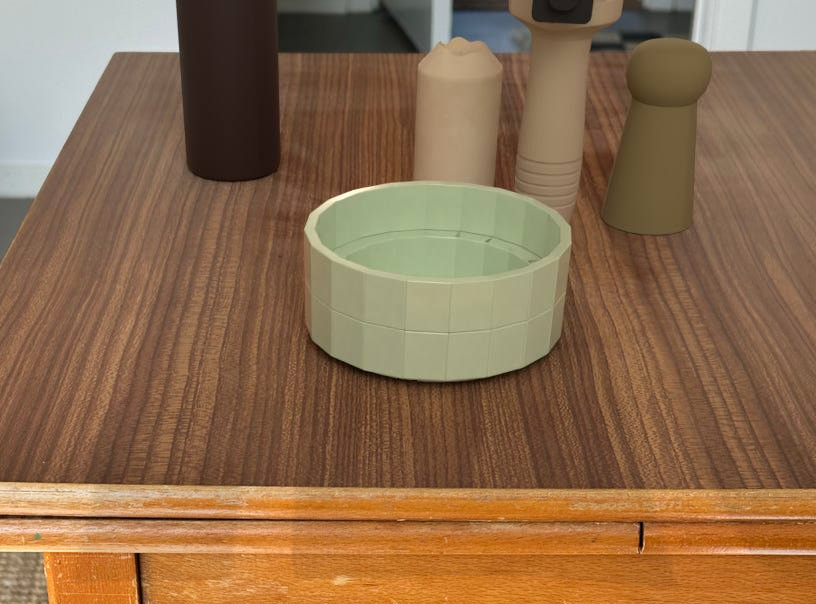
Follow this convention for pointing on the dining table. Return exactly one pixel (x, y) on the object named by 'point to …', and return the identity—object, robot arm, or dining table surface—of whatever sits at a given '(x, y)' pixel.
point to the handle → (556, 105)
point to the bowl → (435, 279)
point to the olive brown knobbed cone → (658, 139)
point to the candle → (457, 113)
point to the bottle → (230, 87)
